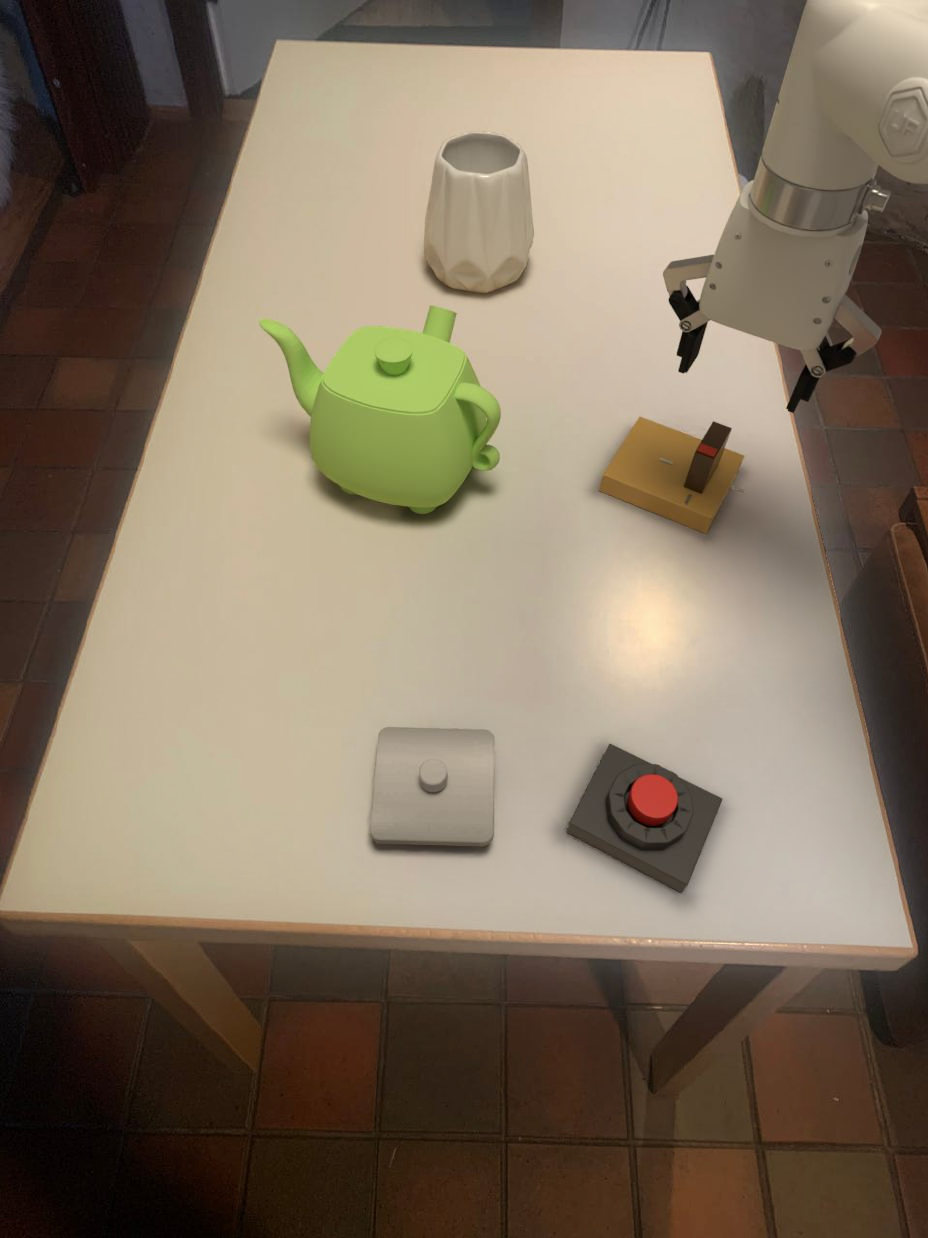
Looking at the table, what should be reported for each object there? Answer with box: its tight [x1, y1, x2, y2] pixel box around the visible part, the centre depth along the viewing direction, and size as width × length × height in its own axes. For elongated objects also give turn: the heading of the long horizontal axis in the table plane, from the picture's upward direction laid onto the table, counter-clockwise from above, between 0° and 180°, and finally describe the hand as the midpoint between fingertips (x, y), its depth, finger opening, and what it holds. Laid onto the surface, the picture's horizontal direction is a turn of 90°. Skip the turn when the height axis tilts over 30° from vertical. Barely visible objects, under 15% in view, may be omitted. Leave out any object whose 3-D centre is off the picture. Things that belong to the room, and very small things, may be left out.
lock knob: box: [684, 420, 733, 494], centre depth 85 cm, size 5×2×5 cm, turn 150°
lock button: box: [628, 774, 678, 826], centre depth 65 cm, size 4×4×2 cm
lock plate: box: [599, 416, 746, 534], centre depth 89 cm, size 14×10×3 cm
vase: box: [423, 130, 535, 294], centre depth 105 cm, size 14×14×15 cm
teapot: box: [258, 305, 502, 515], centre depth 86 cm, size 25×22×16 cm
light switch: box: [369, 726, 495, 847], centre depth 68 cm, size 10×10×5 cm
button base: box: [566, 743, 723, 893], centre depth 68 cm, size 10×8×4 cm
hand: (740, 382), depth 72 cm, fingers open, 9 cm apart
